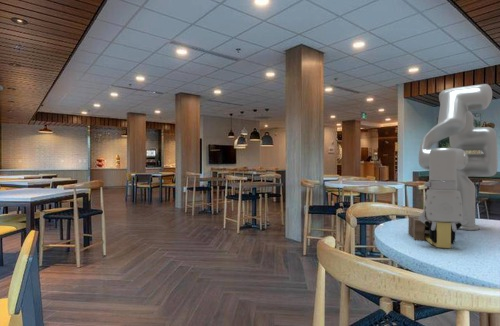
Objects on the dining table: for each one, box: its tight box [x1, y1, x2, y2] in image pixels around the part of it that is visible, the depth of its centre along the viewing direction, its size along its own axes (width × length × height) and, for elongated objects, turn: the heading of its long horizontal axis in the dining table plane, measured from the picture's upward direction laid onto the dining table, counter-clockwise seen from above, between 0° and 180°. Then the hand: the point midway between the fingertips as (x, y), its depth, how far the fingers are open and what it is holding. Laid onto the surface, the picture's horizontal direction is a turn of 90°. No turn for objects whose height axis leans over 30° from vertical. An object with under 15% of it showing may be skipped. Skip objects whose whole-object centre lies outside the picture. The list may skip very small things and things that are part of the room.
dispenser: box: [408, 215, 455, 243], centre depth 112 cm, size 11×12×7 cm
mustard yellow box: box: [425, 222, 452, 249], centre depth 106 cm, size 17×5×8 cm, turn 165°
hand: (442, 241), depth 99 cm, fingers closed on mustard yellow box, 4 cm apart
